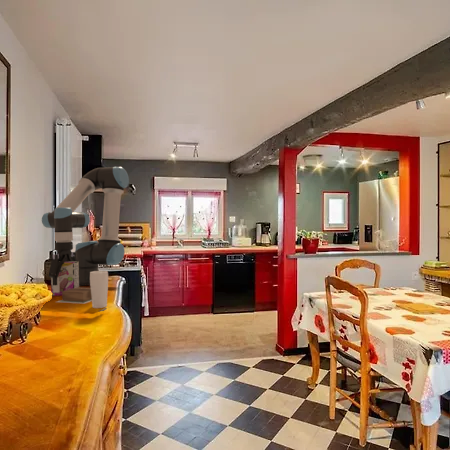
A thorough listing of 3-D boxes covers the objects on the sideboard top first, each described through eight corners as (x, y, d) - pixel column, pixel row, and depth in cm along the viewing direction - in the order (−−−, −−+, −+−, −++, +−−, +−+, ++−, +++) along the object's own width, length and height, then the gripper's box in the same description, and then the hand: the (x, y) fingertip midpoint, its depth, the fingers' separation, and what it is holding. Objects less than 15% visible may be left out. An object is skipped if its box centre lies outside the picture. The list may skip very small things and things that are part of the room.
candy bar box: (50, 298, 173) (49, 262, 173) (56, 296, 178) (55, 261, 178) (74, 298, 172) (73, 262, 172) (79, 296, 177) (79, 261, 177)
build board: (76, 298, 173) (76, 294, 173) (104, 299, 169) (104, 296, 169) (55, 305, 159) (55, 301, 159) (84, 307, 156) (84, 303, 156)
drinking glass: (89, 309, 152) (88, 271, 151) (107, 307, 155) (106, 270, 154) (91, 313, 146) (91, 273, 145) (110, 310, 149) (109, 272, 148)
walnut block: (77, 296, 170) (77, 287, 170) (97, 297, 168) (97, 288, 168) (62, 301, 161) (62, 291, 161) (83, 302, 158) (83, 292, 158)
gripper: (73, 240, 187) (74, 285, 188) (38, 243, 165) (39, 294, 166) (86, 240, 185) (87, 285, 186) (53, 243, 163) (54, 295, 164)
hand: (64, 290), depth 176 cm, fingers open, 10 cm apart
